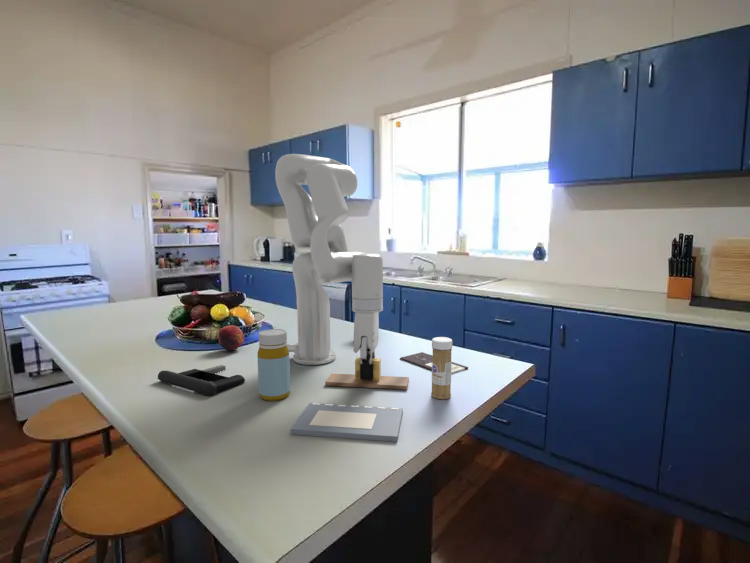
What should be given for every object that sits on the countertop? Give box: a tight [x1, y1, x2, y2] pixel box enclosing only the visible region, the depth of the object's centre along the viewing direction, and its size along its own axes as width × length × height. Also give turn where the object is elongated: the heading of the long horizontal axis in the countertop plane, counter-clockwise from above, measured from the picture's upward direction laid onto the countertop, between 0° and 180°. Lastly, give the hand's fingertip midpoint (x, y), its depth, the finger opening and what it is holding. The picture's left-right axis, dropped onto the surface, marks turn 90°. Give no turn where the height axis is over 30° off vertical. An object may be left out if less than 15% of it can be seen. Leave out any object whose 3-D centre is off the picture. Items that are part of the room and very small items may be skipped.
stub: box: [324, 356, 410, 391], centre depth 102 cm, size 20×6×6 cm, turn 81°
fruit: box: [218, 324, 245, 352], centre depth 131 cm, size 8×8×8 cm
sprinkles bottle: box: [430, 336, 453, 400], centre depth 93 cm, size 5×5×14 cm
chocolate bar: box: [399, 351, 469, 375], centre depth 117 cm, size 9×1×18 cm
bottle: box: [257, 328, 291, 402], centre depth 94 cm, size 7×7×15 cm
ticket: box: [289, 402, 404, 443], centre depth 81 cm, size 20×12×1 cm, turn 81°
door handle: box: [157, 364, 246, 397], centre depth 104 cm, size 3×20×16 cm
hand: (367, 376), depth 102 cm, fingers closed on stub, 2 cm apart
